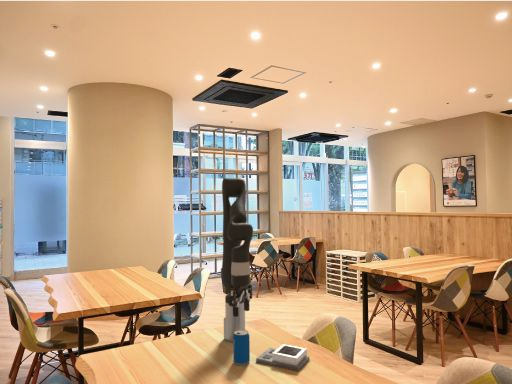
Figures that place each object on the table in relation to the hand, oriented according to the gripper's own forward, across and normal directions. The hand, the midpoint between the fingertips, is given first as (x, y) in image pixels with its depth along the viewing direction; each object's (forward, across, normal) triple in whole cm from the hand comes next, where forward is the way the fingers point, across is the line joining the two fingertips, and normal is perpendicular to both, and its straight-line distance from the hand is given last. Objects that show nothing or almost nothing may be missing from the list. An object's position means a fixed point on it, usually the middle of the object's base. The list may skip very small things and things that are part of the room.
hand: (241, 313), depth 150 cm
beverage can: (+20, 0, 0) cm, 20 cm away
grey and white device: (+20, -9, +14) cm, 25 cm away
